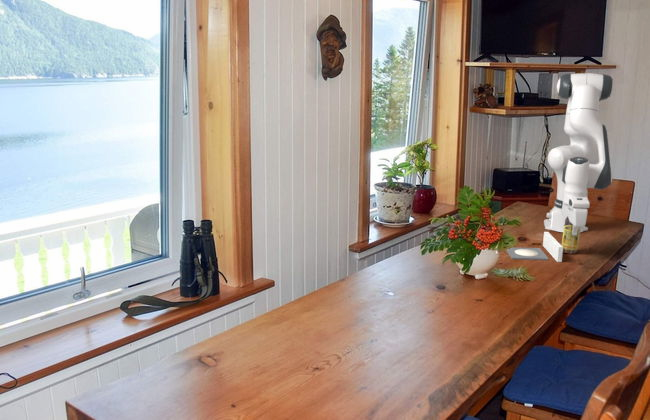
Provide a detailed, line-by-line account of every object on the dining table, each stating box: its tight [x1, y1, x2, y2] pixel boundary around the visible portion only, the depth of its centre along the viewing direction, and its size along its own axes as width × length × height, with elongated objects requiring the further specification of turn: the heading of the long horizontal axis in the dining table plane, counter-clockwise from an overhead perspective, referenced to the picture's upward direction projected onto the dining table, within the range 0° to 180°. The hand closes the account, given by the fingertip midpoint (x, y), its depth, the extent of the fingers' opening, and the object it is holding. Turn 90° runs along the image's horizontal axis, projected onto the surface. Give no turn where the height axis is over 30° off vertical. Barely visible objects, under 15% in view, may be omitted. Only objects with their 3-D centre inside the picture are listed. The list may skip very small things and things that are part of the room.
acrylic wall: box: [542, 231, 564, 263], centre depth 248 cm, size 22×2×6 cm, turn 175°
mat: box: [505, 246, 550, 261], centre depth 247 cm, size 14×14×1 cm
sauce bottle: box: [560, 217, 581, 255], centre depth 248 cm, size 7×6×20 cm
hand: (571, 232), depth 248 cm, fingers closed on sauce bottle, 6 cm apart
